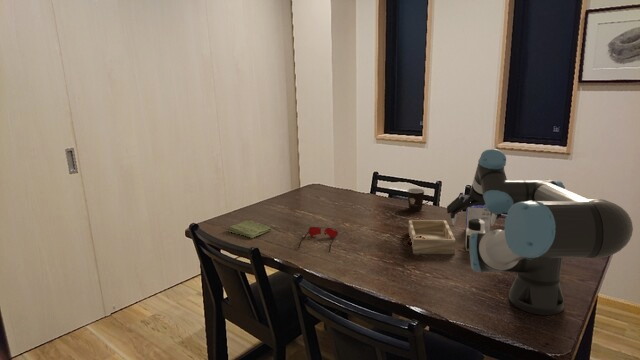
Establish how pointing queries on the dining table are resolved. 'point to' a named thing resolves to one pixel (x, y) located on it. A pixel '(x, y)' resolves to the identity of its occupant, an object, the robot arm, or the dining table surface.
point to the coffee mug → (416, 199)
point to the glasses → (317, 230)
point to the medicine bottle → (474, 229)
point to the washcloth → (249, 229)
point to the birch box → (431, 237)
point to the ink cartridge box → (478, 215)
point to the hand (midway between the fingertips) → (472, 222)
